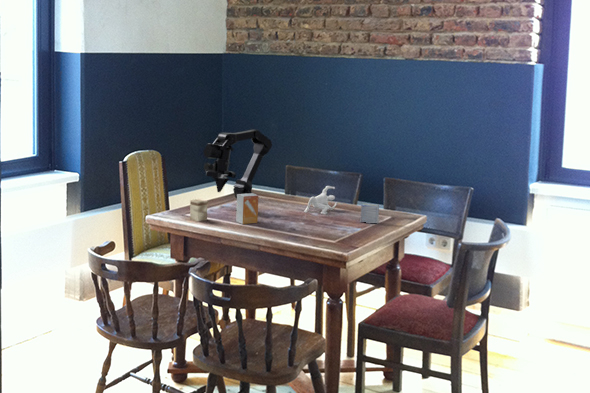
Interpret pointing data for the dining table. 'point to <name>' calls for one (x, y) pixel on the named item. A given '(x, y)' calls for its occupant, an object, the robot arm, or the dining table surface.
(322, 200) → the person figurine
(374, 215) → the medicine box
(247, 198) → the small box
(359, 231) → the dining table surface
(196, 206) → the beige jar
